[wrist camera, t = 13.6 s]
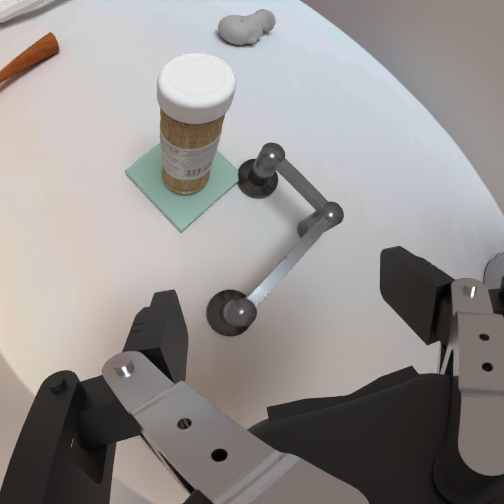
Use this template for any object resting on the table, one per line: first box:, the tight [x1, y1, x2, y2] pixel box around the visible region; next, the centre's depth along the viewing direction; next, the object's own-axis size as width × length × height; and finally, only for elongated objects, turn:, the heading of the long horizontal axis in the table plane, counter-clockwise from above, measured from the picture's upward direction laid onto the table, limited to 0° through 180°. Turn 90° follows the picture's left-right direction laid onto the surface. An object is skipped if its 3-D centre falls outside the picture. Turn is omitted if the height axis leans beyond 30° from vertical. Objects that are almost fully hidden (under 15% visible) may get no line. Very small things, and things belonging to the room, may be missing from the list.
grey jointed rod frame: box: [207, 143, 344, 336], centre depth 26 cm, size 15×11×6 cm
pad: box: [125, 143, 244, 233], centre depth 28 cm, size 8×8×1 cm
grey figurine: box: [218, 9, 276, 45], centre depth 33 cm, size 4×8×5 cm
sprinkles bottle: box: [157, 53, 236, 195], centre depth 21 cm, size 5×5×14 cm
